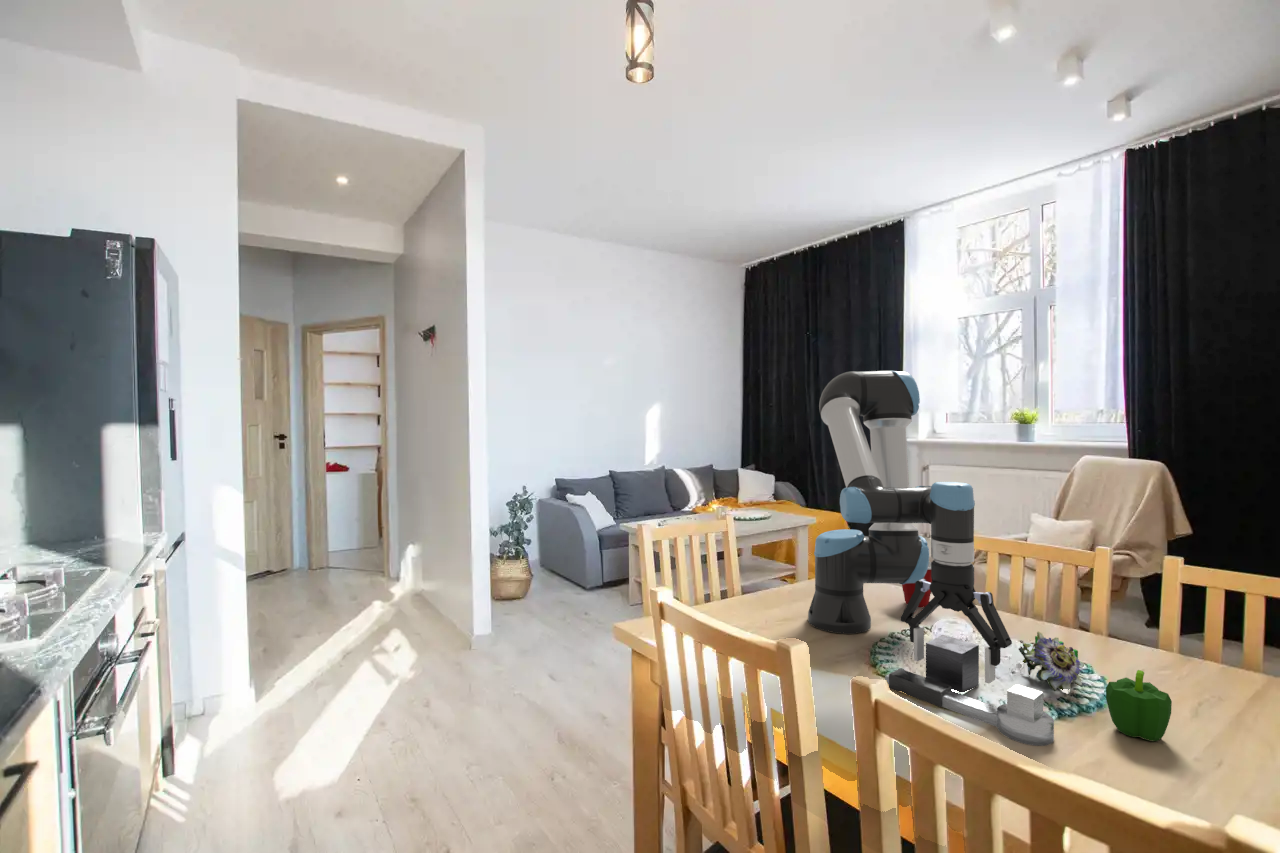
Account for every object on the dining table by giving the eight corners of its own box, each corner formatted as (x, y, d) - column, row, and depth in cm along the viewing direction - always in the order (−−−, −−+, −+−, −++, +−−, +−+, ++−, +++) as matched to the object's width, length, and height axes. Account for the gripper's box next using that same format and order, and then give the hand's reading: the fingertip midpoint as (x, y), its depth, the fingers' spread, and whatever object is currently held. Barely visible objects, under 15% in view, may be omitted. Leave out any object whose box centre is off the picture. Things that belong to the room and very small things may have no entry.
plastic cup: (946, 610, 164) (946, 566, 164) (906, 610, 164) (906, 566, 164) (928, 598, 175) (928, 556, 174) (890, 598, 175) (890, 556, 175)
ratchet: (878, 689, 118) (878, 653, 118) (900, 678, 123) (900, 643, 123) (1043, 751, 96) (1043, 707, 96) (1061, 734, 101) (1061, 692, 101)
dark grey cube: (925, 683, 120) (925, 643, 120) (942, 673, 125) (942, 634, 125) (962, 695, 115) (962, 653, 115) (978, 685, 119) (978, 644, 119)
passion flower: (1064, 720, 116) (1051, 681, 111) (1010, 687, 126) (996, 649, 121) (1101, 681, 119) (1090, 640, 114) (1045, 651, 128) (1033, 613, 124)
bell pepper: (1153, 752, 96) (1153, 689, 95) (1096, 727, 103) (1096, 669, 103) (1183, 740, 99) (1183, 679, 99) (1125, 717, 107) (1126, 660, 106)
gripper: (882, 553, 127) (883, 655, 127) (1014, 577, 107) (1015, 697, 107) (901, 548, 131) (901, 647, 132) (1031, 570, 112) (1031, 685, 112)
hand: (952, 669), depth 119 cm, fingers open, 13 cm apart
